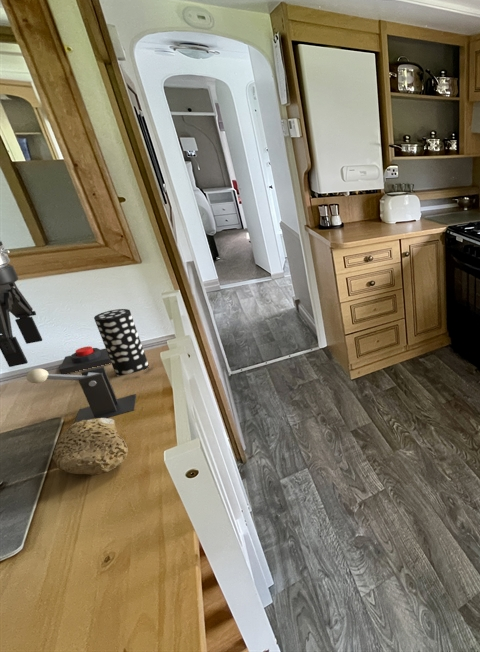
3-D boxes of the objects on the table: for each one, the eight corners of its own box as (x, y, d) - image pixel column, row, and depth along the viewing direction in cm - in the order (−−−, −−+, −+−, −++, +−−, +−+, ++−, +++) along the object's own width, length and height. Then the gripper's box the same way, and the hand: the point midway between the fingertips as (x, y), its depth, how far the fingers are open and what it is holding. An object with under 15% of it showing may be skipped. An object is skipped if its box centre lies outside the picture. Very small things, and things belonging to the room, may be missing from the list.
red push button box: (61, 375, 119) (56, 364, 118) (67, 362, 127) (63, 352, 125) (111, 364, 126) (107, 353, 125) (114, 352, 134) (110, 342, 132)
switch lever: (22, 385, 90) (26, 371, 89) (27, 378, 92) (30, 365, 92) (98, 388, 98) (102, 375, 98) (100, 382, 101) (103, 369, 101)
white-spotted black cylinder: (109, 374, 120) (87, 317, 113) (137, 361, 128) (118, 307, 120) (127, 379, 118) (105, 321, 111) (155, 366, 125) (136, 311, 118)
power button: (76, 358, 123) (74, 353, 122) (78, 353, 125) (76, 348, 125) (92, 354, 125) (91, 349, 124) (94, 349, 128) (92, 345, 127)
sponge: (64, 451, 91) (37, 493, 75) (62, 420, 90) (34, 456, 74) (136, 438, 99) (125, 474, 83) (135, 409, 98) (123, 440, 82)
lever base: (74, 430, 96) (55, 388, 91) (80, 412, 103) (62, 372, 98) (135, 413, 103) (120, 373, 98) (137, 397, 109) (123, 358, 105)
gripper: (-9, 278, 75) (36, 370, 82) (26, 253, 93) (60, 330, 101) (-69, 285, 70) (-16, 381, 78) (-20, 257, 89) (19, 337, 97)
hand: (27, 352), depth 90 cm, fingers open, 13 cm apart
